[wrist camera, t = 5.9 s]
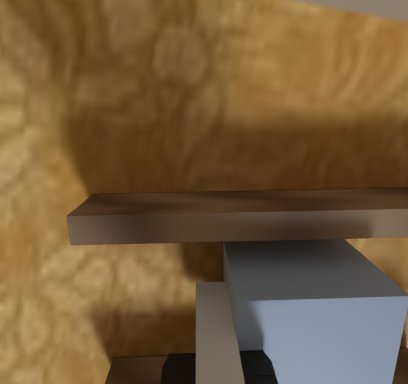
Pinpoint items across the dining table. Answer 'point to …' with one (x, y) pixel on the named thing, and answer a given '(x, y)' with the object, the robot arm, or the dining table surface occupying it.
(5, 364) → the dining table surface
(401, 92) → the dining table surface
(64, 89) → the dining table surface
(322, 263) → the block
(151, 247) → the dining table surface
